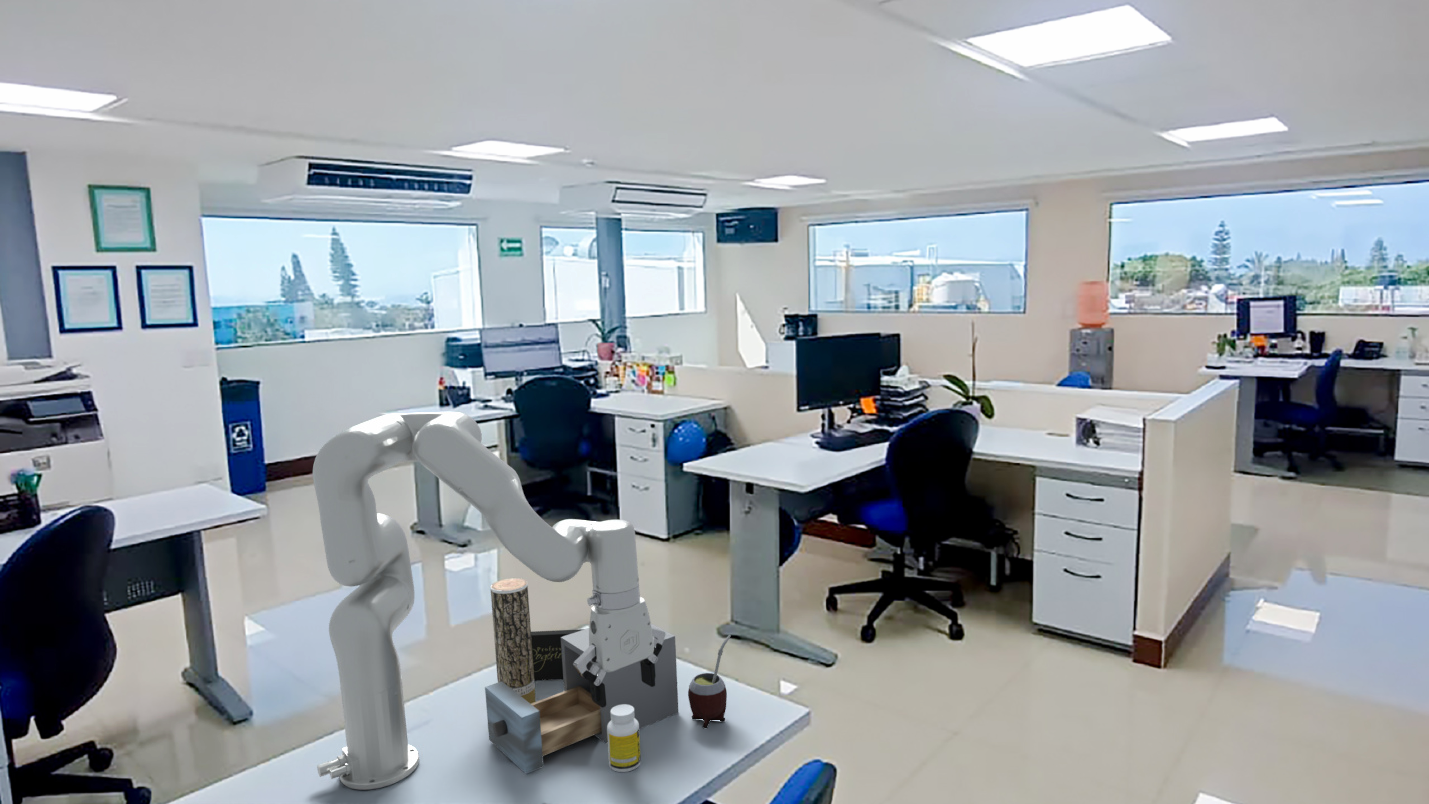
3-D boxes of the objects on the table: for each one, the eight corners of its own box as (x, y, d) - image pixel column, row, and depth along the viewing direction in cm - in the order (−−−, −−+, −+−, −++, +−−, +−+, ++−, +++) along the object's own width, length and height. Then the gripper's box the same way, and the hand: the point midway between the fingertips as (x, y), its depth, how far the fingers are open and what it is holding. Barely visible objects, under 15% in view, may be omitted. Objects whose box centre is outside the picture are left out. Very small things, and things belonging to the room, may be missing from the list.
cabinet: (605, 743, 151) (601, 662, 149) (565, 713, 162) (560, 637, 160) (678, 712, 161) (675, 635, 159) (635, 685, 172) (632, 614, 170)
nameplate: (517, 682, 176) (514, 636, 175) (519, 678, 178) (516, 632, 176) (619, 677, 177) (617, 631, 175) (620, 673, 178) (617, 627, 177)
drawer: (516, 777, 141) (512, 720, 139) (480, 742, 152) (476, 689, 150) (617, 735, 153) (614, 682, 151) (576, 705, 164) (573, 656, 162)
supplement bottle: (645, 768, 143) (642, 713, 142) (613, 776, 141) (610, 721, 140) (635, 752, 148) (633, 699, 147) (605, 759, 146) (602, 706, 145)
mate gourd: (685, 728, 155) (682, 650, 153) (695, 706, 163) (692, 632, 161) (725, 731, 154) (722, 652, 152) (733, 709, 161) (731, 634, 159)
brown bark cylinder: (540, 700, 168) (532, 578, 164) (529, 718, 161) (520, 591, 157) (506, 699, 168) (497, 578, 165) (494, 717, 162) (484, 591, 158)
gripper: (582, 617, 132) (591, 721, 134) (672, 587, 143) (679, 683, 145) (558, 605, 138) (567, 704, 140) (647, 576, 148) (654, 669, 151)
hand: (624, 693), depth 143 cm, fingers open, 9 cm apart
